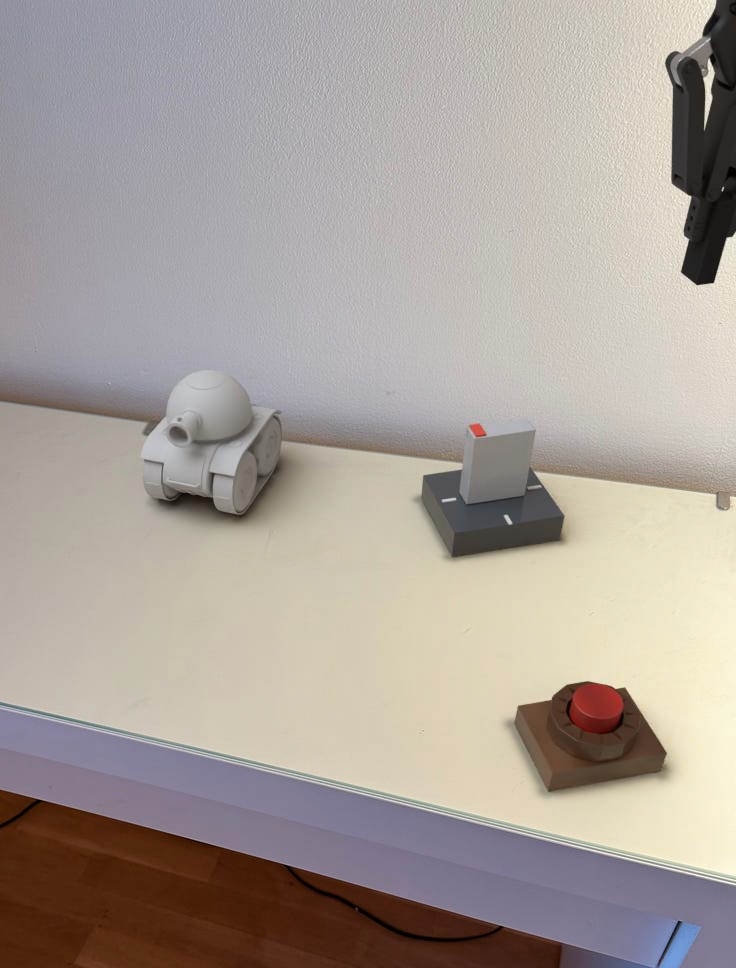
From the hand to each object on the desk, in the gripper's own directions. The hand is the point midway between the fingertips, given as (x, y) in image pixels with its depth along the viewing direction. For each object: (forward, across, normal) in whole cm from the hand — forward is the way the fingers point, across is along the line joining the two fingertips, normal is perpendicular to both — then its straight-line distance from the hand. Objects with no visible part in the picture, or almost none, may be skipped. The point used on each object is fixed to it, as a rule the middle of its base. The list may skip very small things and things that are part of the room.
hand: (697, 277), depth 79 cm
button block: (+24, -17, -27) cm, 40 cm away
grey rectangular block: (+21, -14, +3) cm, 26 cm away
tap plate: (+24, -14, +3) cm, 28 cm away
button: (+21, -17, -27) cm, 38 cm away
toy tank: (+25, -40, +16) cm, 50 cm away
